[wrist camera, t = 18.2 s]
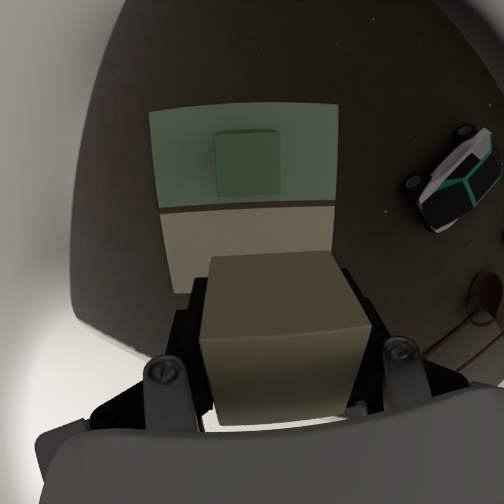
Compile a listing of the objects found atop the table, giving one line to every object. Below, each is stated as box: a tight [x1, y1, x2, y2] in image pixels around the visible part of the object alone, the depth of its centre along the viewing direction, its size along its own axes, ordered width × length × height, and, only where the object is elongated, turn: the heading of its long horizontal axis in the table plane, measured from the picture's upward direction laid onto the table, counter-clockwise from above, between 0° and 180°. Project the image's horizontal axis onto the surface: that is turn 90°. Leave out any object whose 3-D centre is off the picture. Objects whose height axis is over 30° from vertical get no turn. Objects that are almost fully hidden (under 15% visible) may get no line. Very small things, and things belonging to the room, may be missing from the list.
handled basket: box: [424, 273, 504, 372], centre depth 32 cm, size 18×12×7 cm, turn 142°
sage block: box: [214, 129, 280, 197], centre depth 22 cm, size 4×4×4 cm
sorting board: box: [149, 102, 338, 293], centre depth 26 cm, size 16×18×1 cm
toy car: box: [402, 124, 503, 233], centre depth 23 cm, size 6×12×5 cm, turn 134°
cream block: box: [199, 250, 372, 426], centre depth 10 cm, size 4×4×4 cm
